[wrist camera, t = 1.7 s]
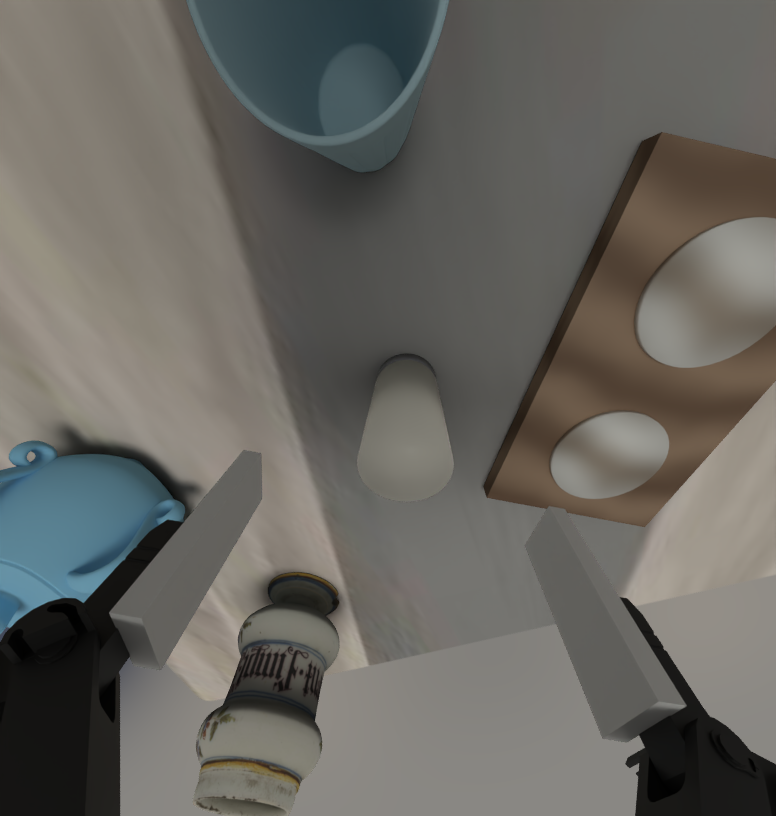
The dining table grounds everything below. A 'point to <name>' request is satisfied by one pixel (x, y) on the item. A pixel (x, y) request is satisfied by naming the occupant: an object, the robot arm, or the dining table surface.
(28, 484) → the decorative pot
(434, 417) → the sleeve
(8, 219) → the dining table surface
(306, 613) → the apothecary jar
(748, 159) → the seat board
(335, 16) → the cup
